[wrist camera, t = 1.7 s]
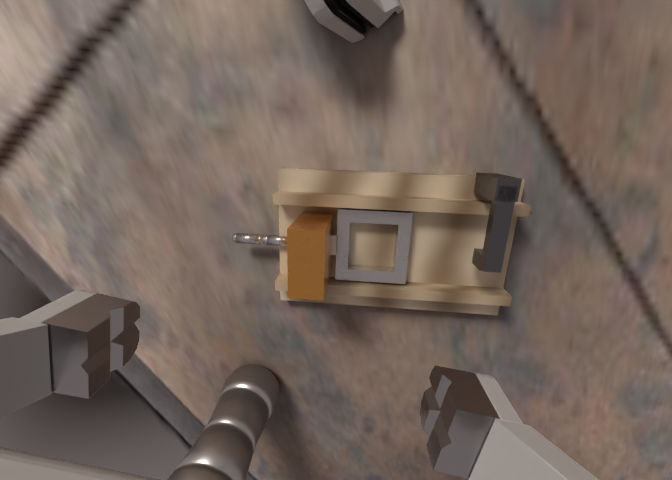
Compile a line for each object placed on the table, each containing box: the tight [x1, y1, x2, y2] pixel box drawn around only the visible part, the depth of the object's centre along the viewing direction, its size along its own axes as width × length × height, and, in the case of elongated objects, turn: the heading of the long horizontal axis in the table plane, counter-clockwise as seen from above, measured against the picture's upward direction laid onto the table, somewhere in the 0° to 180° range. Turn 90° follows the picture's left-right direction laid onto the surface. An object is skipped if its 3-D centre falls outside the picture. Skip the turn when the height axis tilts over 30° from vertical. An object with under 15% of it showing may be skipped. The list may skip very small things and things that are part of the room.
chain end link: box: [232, 208, 413, 301], centre depth 29 cm, size 18×7×7 cm, turn 88°
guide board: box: [273, 168, 531, 315], centre depth 32 cm, size 23×14×4 cm, turn 88°
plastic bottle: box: [167, 364, 279, 480], centre depth 30 cm, size 6×7×20 cm
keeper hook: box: [472, 173, 522, 273], centre depth 28 cm, size 2×8×5 cm, turn 178°
